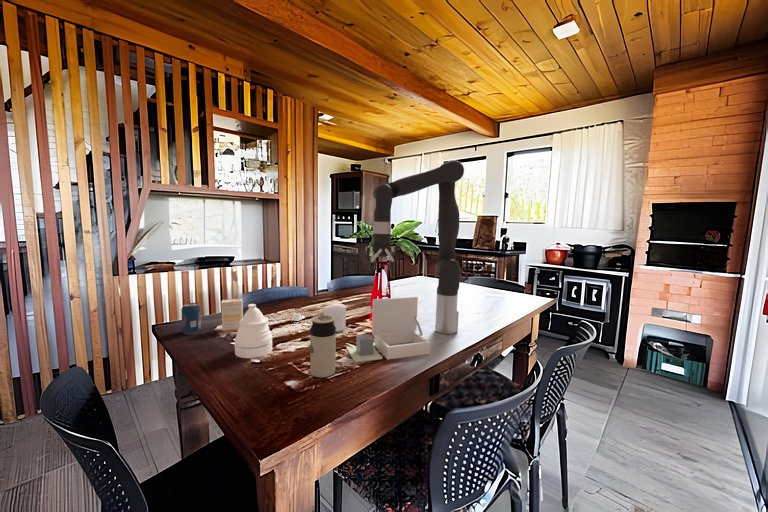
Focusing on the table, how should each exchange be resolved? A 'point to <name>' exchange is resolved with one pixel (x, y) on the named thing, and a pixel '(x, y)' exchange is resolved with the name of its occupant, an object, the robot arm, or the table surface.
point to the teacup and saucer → (297, 317)
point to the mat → (366, 357)
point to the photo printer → (337, 315)
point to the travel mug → (322, 346)
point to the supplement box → (231, 314)
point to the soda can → (191, 318)
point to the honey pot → (253, 335)
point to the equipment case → (398, 328)
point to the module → (364, 344)
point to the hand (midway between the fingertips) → (381, 270)
